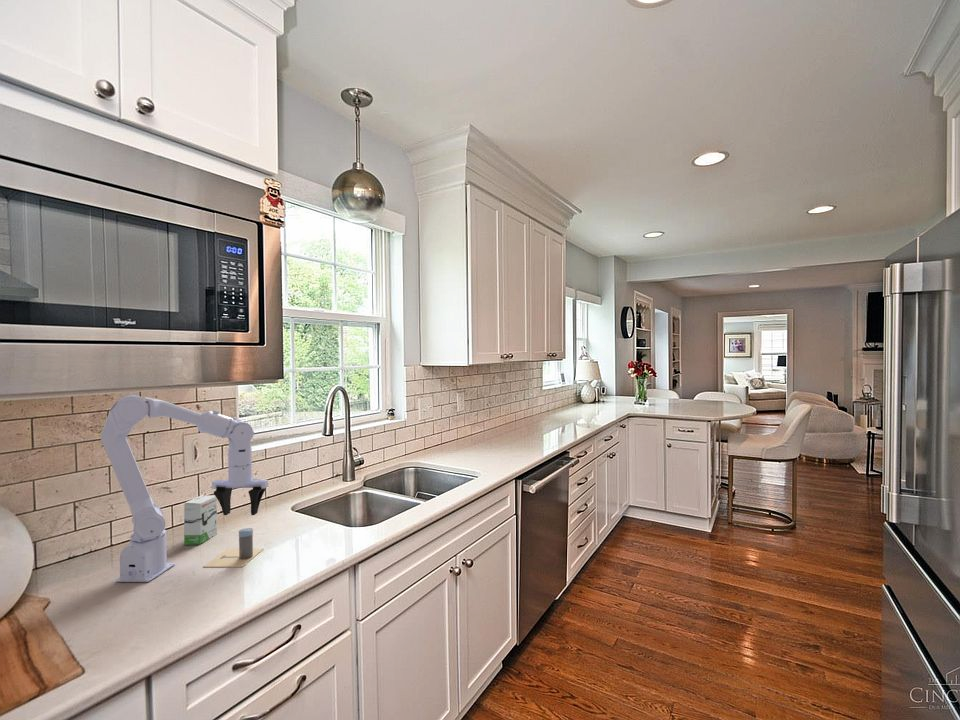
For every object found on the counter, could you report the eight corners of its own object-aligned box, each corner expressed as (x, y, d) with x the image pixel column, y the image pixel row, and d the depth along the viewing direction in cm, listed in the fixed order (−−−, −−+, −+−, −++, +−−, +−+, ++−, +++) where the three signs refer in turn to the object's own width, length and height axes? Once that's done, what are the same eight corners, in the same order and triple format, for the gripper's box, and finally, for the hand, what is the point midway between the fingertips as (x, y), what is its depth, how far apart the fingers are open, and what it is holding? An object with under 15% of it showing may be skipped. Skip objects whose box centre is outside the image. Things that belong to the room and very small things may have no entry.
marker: (249, 559, 121) (248, 532, 121) (236, 559, 121) (236, 532, 121) (255, 554, 124) (255, 528, 124) (243, 554, 124) (242, 528, 124)
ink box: (200, 545, 131) (199, 503, 131) (183, 545, 131) (182, 503, 131) (218, 533, 140) (217, 494, 140) (202, 533, 140) (201, 494, 140)
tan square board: (242, 567, 117) (242, 566, 117) (203, 567, 117) (203, 566, 117) (263, 549, 128) (263, 548, 128) (227, 549, 128) (227, 548, 128)
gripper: (273, 461, 131) (273, 509, 131) (222, 461, 132) (222, 509, 132) (260, 467, 124) (261, 517, 124) (207, 467, 125) (207, 518, 125)
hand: (240, 514), depth 128 cm, fingers open, 7 cm apart
